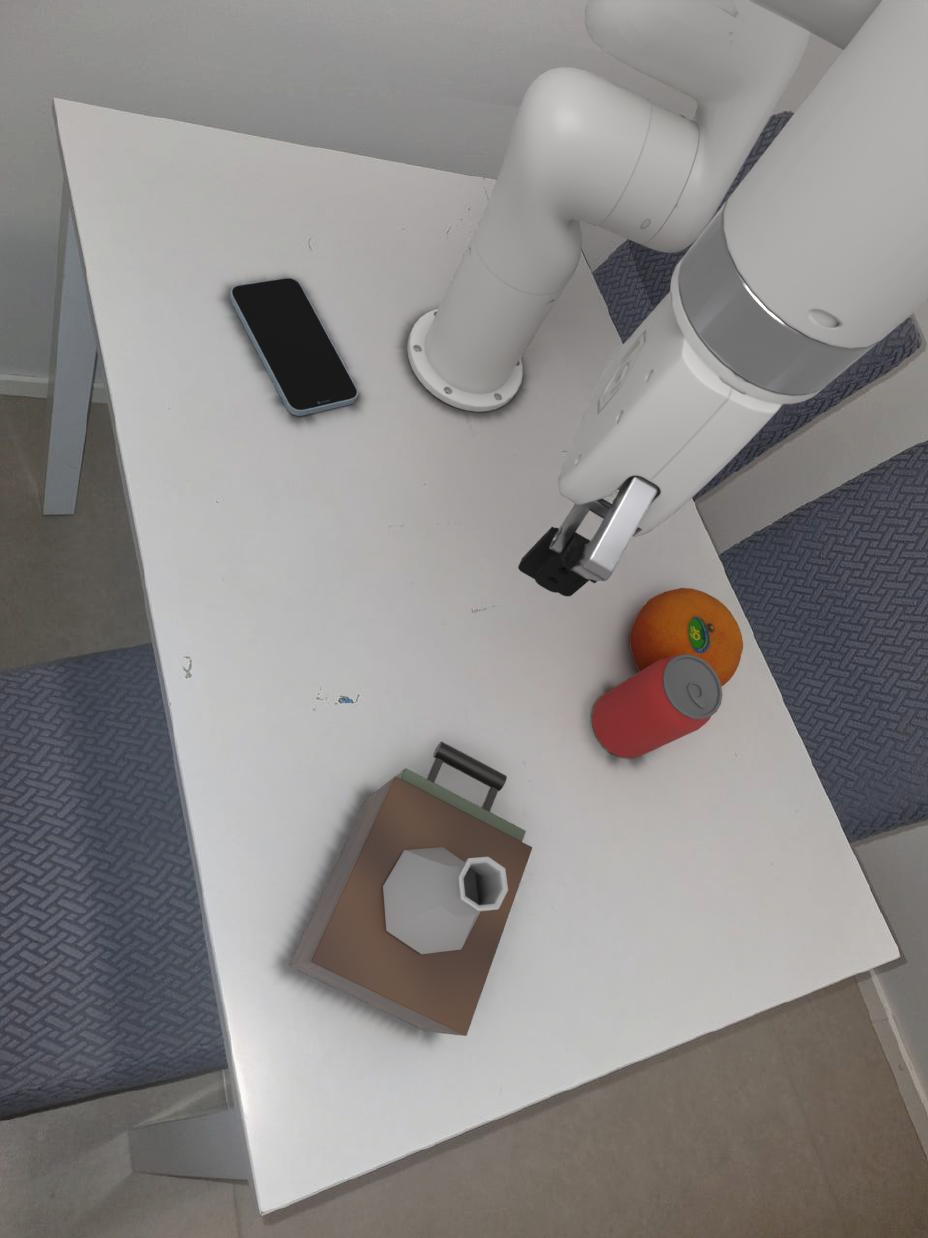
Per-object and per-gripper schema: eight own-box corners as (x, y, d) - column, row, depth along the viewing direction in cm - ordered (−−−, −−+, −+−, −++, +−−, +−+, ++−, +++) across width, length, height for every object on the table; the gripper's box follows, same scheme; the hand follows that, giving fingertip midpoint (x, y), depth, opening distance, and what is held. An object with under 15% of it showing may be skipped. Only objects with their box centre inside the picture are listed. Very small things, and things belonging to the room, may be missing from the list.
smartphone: (296, 275, 87) (362, 397, 83) (295, 282, 87) (360, 402, 84) (226, 286, 83) (292, 413, 80) (225, 292, 84) (290, 419, 81)
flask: (469, 966, 59) (529, 961, 50) (369, 942, 57) (413, 932, 49) (488, 860, 62) (547, 839, 54) (393, 834, 61) (439, 807, 52)
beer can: (610, 771, 79) (685, 737, 68) (576, 706, 80) (645, 663, 70) (662, 744, 82) (741, 707, 71) (629, 682, 83) (702, 637, 73)
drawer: (402, 741, 72) (428, 718, 66) (510, 797, 73) (544, 780, 67) (311, 938, 64) (331, 932, 58) (435, 998, 65) (466, 997, 59)
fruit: (685, 601, 89) (732, 568, 82) (723, 695, 86) (775, 669, 79) (599, 617, 85) (642, 584, 78) (637, 718, 82) (685, 692, 75)
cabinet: (365, 799, 70) (395, 775, 62) (489, 862, 71) (532, 847, 64) (287, 966, 63) (310, 961, 56) (426, 1032, 65) (466, 1036, 57)
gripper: (743, 121, 36) (563, 370, 51) (630, 402, 28) (454, 601, 43) (886, 219, 37) (668, 435, 52) (817, 517, 29) (582, 673, 44)
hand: (572, 510), depth 48 cm, fingers open, 9 cm apart
